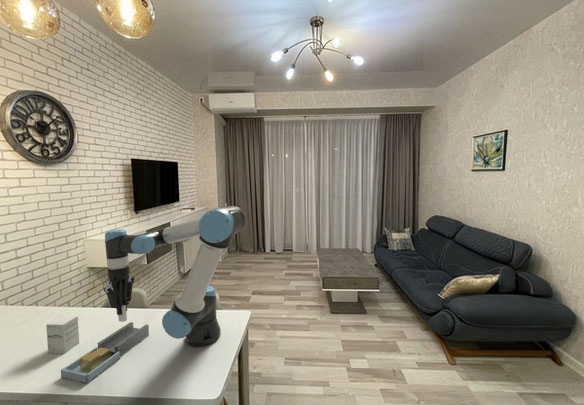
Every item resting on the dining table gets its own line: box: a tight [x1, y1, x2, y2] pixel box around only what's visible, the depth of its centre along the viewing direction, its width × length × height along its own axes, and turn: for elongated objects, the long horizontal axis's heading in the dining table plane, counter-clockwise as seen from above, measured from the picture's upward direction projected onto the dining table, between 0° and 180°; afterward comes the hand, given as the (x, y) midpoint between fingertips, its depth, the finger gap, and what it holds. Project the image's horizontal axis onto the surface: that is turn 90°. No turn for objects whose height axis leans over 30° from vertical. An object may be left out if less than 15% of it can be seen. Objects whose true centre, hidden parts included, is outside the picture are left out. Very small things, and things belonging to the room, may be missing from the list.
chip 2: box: [93, 347, 111, 364], centre depth 100 cm, size 5×4×4 cm
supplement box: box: [46, 315, 80, 354], centre depth 108 cm, size 7×7×13 cm
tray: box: [60, 346, 121, 385], centre depth 97 cm, size 12×13×3 cm
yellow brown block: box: [79, 351, 100, 372], centre depth 96 cm, size 5×4×4 cm
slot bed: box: [97, 322, 150, 358], centre depth 111 cm, size 10×16×5 cm, turn 167°
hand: (122, 320), depth 109 cm, fingers closed
